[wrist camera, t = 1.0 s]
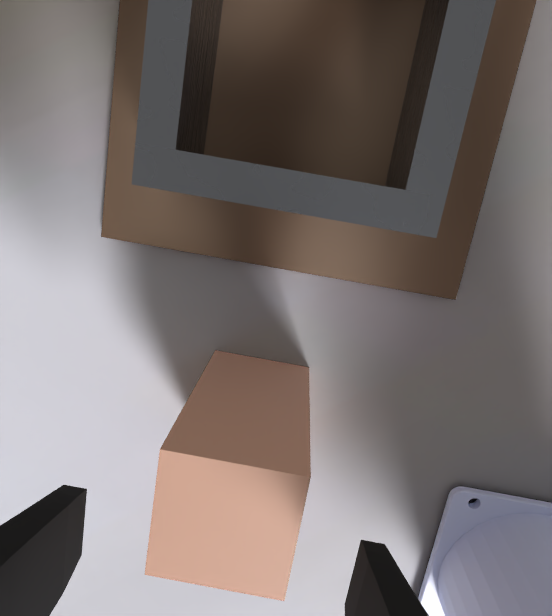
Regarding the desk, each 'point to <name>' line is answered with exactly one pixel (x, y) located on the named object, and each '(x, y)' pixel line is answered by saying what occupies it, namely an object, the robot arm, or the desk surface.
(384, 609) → the robot arm
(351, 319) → the desk surface
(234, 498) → the peg
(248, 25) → the socket board
